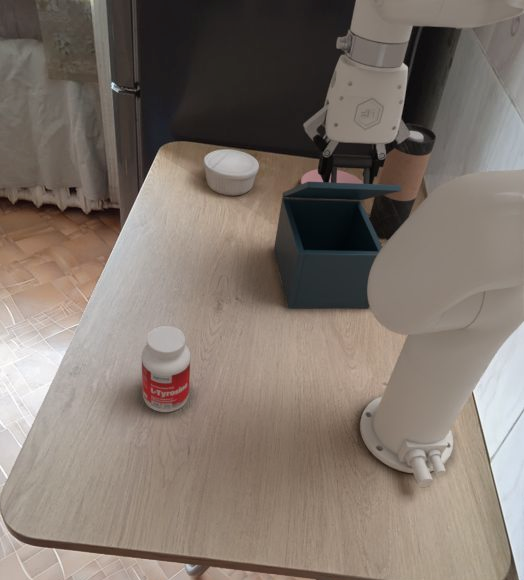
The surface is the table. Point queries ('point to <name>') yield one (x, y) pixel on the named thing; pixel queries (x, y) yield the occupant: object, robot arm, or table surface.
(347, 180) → the plate
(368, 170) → the lid
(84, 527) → the table surface
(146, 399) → the pill bottle
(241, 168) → the ramekin
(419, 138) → the travel mug
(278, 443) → the table surface
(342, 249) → the chest
